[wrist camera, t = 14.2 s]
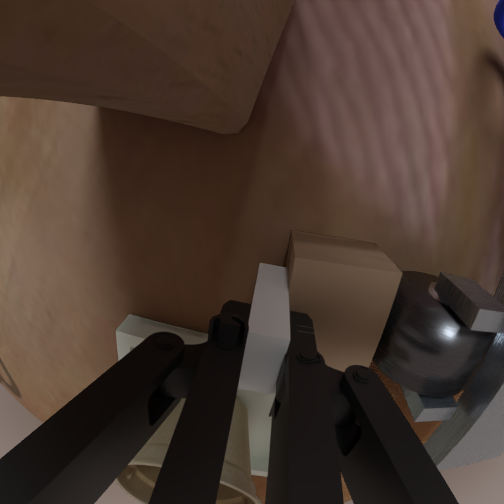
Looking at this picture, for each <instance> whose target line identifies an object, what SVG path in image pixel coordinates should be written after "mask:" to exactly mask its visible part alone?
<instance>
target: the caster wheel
mask: <svg viewBox="0 0 504 504" xmlns="http://www.w3.org/2000/svg"><path fill="white" fill-rule="evenodd" d="M372 359H373V361H374V363H375V364H376V365H377V366H378V368H379V369H380V370H381V371H382V372H383V373H384V374H385V375H386V376H388V377H389V378H390V379H391V380H393V381H394V382H396V383H397V384H399V385H400V386H401V389H402V391H403V393H404V396H405V398H406V401H407V403H408V406H409V409H410V411H411V414H412V416H413V419H414V422H425V421H441V420H443V421H442V422H441V424H440V425H439V426H438V428H437V429H436V430H435V431H434V433H433V434H432V435H431V436H430V438H429V439H428V440H427V441H426V442H425V444H424V445H423V446H424V448H425V449H426V451H427V452H428V454H429V455H430V457H431V459H432V460H433V462H434V464H435V465H436V467H437V468H438V470H444V469H449V468H454V467H459V466H463V465H467V464H471V463H475V462H479V461H483V460H486V459H490V458H493V457H497V456H500V455H501V454H502V453H503V452H504V273H503V275H502V278H501V281H500V283H499V286H498V288H497V291H496V293H495V296H494V297H493V296H492V295H491V294H489V293H488V292H487V291H486V290H485V289H483V288H482V287H481V286H480V285H479V284H478V283H476V282H475V281H474V280H473V279H470V278H465V277H461V276H456V275H452V274H448V273H443V272H440V275H439V277H437V276H433V275H430V274H426V273H421V272H414V271H402V277H401V280H400V283H399V287H398V290H397V293H396V296H395V299H394V302H393V305H392V308H391V311H390V314H389V317H388V319H387V322H386V325H385V328H384V330H383V333H382V336H381V338H380V341H379V343H378V346H377V348H376V351H375V353H374V356H373V358H372ZM462 390H464V392H463V393H462V395H461V396H460V398H459V399H458V401H457V402H455V400H454V398H453V395H455V394H458V393H459V392H461V391H462Z"/></svg>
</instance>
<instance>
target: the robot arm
mask: <svg viewBox="0 0 504 504" xmlns="http://www.w3.org/2000/svg"><path fill="white" fill-rule="evenodd" d="M238 388H239V389H244V390H249V391H255V392H261V393H267V394H274V391H275V388H276V395H275V398H274V401H273V404H272V407H271V410H270V413H269V417H271V416H272V421H271V436H270V450H269V464H268V477H267V489H266V501H265V504H344V503H343V492H342V482H341V473H342V476H343V478H344V481H345V483H346V486H347V488H348V490H349V493H350V495H351V498H352V500H353V503H354V504H459V503H458V502H457V500H456V498H455V497H454V495H453V493H452V492H451V490H450V488H449V487H448V485H447V483H446V482H445V480H444V478H443V477H442V475H441V473H440V472H439V470H438V468H437V467H436V465H435V464H434V462H433V460H432V459H431V457H430V455H429V454H428V452H427V451H426V449H425V448H424V446H423V444H422V443H421V441H420V440H419V438H418V436H417V435H416V433H415V432H414V430H413V429H412V427H411V426H410V424H409V422H408V421H407V419H406V418H405V416H404V415H403V413H402V412H401V410H400V409H399V407H398V405H397V404H396V402H395V401H394V399H393V398H392V396H391V395H390V393H389V392H388V390H387V389H386V387H385V386H384V384H383V383H382V381H381V380H380V378H379V377H378V375H377V374H376V373H375V372H374V371H373V370H371V369H370V368H368V367H365V366H362V365H351V366H349V367H347V368H346V370H345V372H342V371H339V370H337V369H334V368H331V367H329V366H328V365H326V364H325V360H324V358H323V356H322V355H321V354H320V353H319V352H318V351H317V346H316V339H315V334H314V327H313V320H312V319H311V318H310V317H309V315H308V314H306V313H300V312H295V311H289V289H288V269H287V268H286V267H281V266H276V265H271V264H265V263H260V264H259V269H258V275H257V280H256V285H255V290H254V295H253V300H252V304H247V303H242V302H237V301H232V300H229V301H228V302H226V303H225V304H224V305H223V307H222V310H221V313H220V314H218V315H216V316H214V317H212V319H211V320H210V325H209V333H208V340H207V341H206V342H204V343H201V344H184V341H183V339H182V338H181V337H180V336H178V335H177V334H174V333H171V332H156V333H153V334H151V335H150V336H148V337H147V338H146V339H145V340H143V341H142V342H141V343H140V344H139V345H137V346H136V347H135V348H134V349H133V350H131V351H130V352H129V353H128V354H126V355H125V356H124V357H123V358H122V359H120V360H119V361H118V362H117V363H116V364H114V365H113V366H112V367H111V368H110V369H108V370H107V371H106V372H105V373H103V374H102V375H101V376H100V377H99V378H97V379H96V380H95V381H94V382H93V383H91V384H90V385H89V386H88V387H87V388H85V389H84V390H83V391H82V392H81V393H79V394H78V395H77V396H76V397H74V398H73V399H72V400H71V401H70V402H68V403H67V404H66V405H65V406H64V407H62V408H61V409H60V410H59V411H58V412H56V413H55V414H54V415H53V416H51V417H50V418H49V419H48V420H47V421H45V422H44V423H43V424H42V425H41V426H39V427H38V428H37V429H36V430H35V431H33V432H32V433H31V434H30V435H29V436H28V437H26V438H25V439H24V440H22V441H21V442H20V443H19V444H18V445H16V446H15V447H14V448H13V449H12V450H10V451H9V452H8V453H7V454H6V455H5V456H3V457H2V458H1V459H0V504H94V503H95V502H96V501H97V500H98V499H99V497H100V496H101V495H102V494H103V493H104V492H105V491H106V490H107V488H108V487H109V486H110V485H111V484H112V483H113V482H114V480H115V479H116V478H117V477H118V476H119V475H120V473H121V472H122V471H123V470H124V469H125V468H126V466H127V465H128V464H129V463H130V462H131V461H132V459H133V458H134V457H135V456H136V455H137V453H138V452H139V451H140V450H141V449H142V448H143V446H144V445H145V444H146V443H147V442H148V440H149V439H150V438H151V437H152V435H153V434H154V433H155V432H156V431H157V429H158V428H159V427H160V426H161V425H162V423H163V422H164V421H165V420H166V418H167V417H168V416H169V415H170V414H171V412H172V411H173V410H174V409H175V407H176V406H177V405H178V404H179V402H180V401H181V398H186V400H185V403H184V405H183V408H182V411H181V414H180V416H179V419H178V422H177V425H176V428H175V430H174V433H173V436H172V439H171V441H170V444H169V447H168V450H167V453H166V455H165V458H164V461H163V464H162V467H161V469H160V472H159V475H158V478H157V481H156V483H155V486H154V489H153V492H152V495H151V498H150V501H149V503H148V504H216V499H217V494H218V489H219V484H220V479H221V474H222V469H223V463H224V458H225V453H226V448H227V443H228V437H229V432H230V427H231V421H232V416H233V411H234V406H235V400H236V395H237V389H238ZM340 471H341V473H340Z"/></svg>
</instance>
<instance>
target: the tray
mask: <svg viewBox="0 0 504 504" xmlns="http://www.w3.org/2000/svg"><path fill="white" fill-rule="evenodd" d="M156 332H171V333H174V334H177V335H178V336H180V337H181V338H182V339H183V341H184V344H201V343H204V342H206V341H207V340H208V334H207V333H203V332H198V331H194V330H190V329H186V328H181V327H177V326H173V325H169V324H165V323H161V322H158V321H154V320H150V319H146V318H143V317H139V316H135V315H132V314H129V315H128V316H127V317H126V318H125V320H124V321H123V322H122V323H121V324H120V326H119V327H118V328H117V329H116V341H117V351H118V360H120V359H122V358H123V357H124V356H125V355H126V354H128V353H129V352H130V351H131V350H133V349H134V348H135V347H136V346H137V345H139V344H140V343H141V342H142V341H143V340H145V339H146V338H147V337H148V336H150V335H151V334H153V333H156ZM275 395H276V388H275V391H274V394H267V393H261V392H255V391H249V390H244V389H239V388H238V389H237V395H236V396H237V397H238V399H239V400H240V401H241V402H242V403H243V404H245V405H246V407H247V410H248V428H249V446H250V463H251V475H257V476H264V477H268V464H269V450H270V436H271V421H272V416H271V417H269V413H270V410H271V407H272V404H273V401H274V398H275Z"/></svg>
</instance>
